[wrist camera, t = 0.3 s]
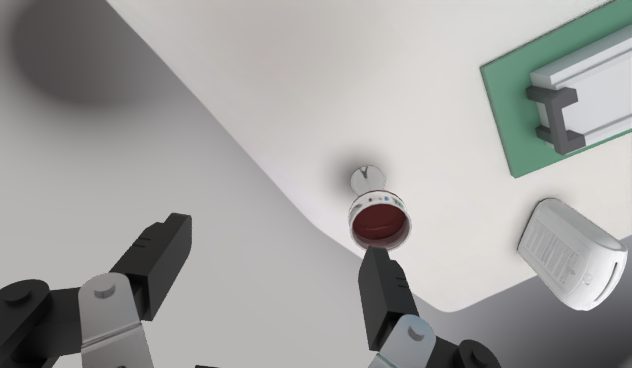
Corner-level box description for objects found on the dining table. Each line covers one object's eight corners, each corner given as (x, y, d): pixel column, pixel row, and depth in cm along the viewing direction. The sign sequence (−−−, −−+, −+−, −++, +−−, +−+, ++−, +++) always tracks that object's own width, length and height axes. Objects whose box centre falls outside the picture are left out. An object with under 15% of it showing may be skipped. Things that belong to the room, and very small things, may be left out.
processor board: (662, -25, 31) (744, -42, 25) (669, 111, 37) (737, 124, 31) (479, 67, 36) (510, 72, 29) (511, 175, 41) (543, 198, 35)
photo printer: (539, 255, 47) (604, 321, 36) (512, 253, 47) (569, 318, 36) (567, 198, 42) (651, 253, 31) (536, 196, 43) (610, 250, 31)
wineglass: (335, 188, 43) (336, 236, 33) (362, 151, 41) (373, 189, 30) (373, 209, 45) (386, 262, 34) (401, 175, 42) (425, 220, 31)
